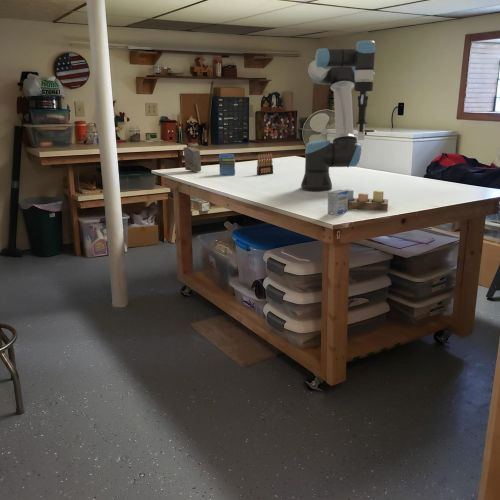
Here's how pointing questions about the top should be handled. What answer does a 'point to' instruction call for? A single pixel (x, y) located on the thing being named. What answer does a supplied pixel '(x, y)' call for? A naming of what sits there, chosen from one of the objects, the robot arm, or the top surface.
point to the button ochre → (378, 196)
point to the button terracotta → (362, 197)
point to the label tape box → (227, 164)
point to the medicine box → (337, 201)
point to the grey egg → (350, 194)
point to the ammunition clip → (264, 165)
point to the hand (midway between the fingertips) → (360, 139)
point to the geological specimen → (192, 159)
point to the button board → (368, 205)
